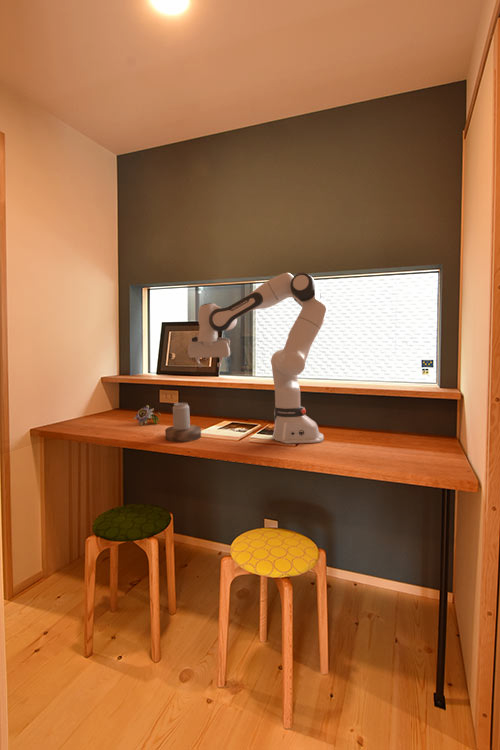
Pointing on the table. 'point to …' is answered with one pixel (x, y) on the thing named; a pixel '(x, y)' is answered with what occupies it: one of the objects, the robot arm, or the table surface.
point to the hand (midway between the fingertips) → (209, 366)
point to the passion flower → (146, 415)
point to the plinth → (183, 434)
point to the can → (181, 417)
